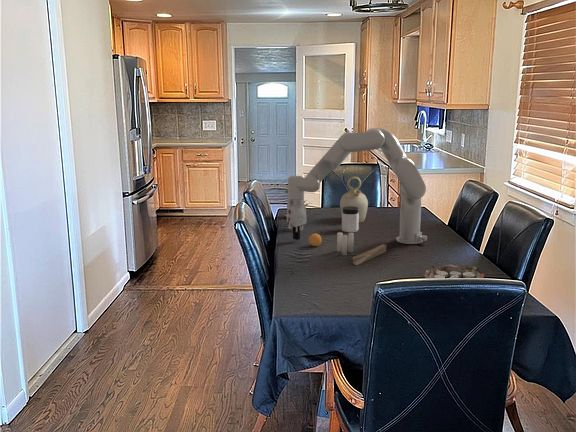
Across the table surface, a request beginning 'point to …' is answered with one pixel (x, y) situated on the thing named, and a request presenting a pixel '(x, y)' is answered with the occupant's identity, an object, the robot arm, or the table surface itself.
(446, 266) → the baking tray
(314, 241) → the ball
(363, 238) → the table surface
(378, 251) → the curved brown wooden stick
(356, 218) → the jar
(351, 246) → the back pin right
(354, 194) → the jug
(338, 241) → the front pin
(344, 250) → the back pin left
